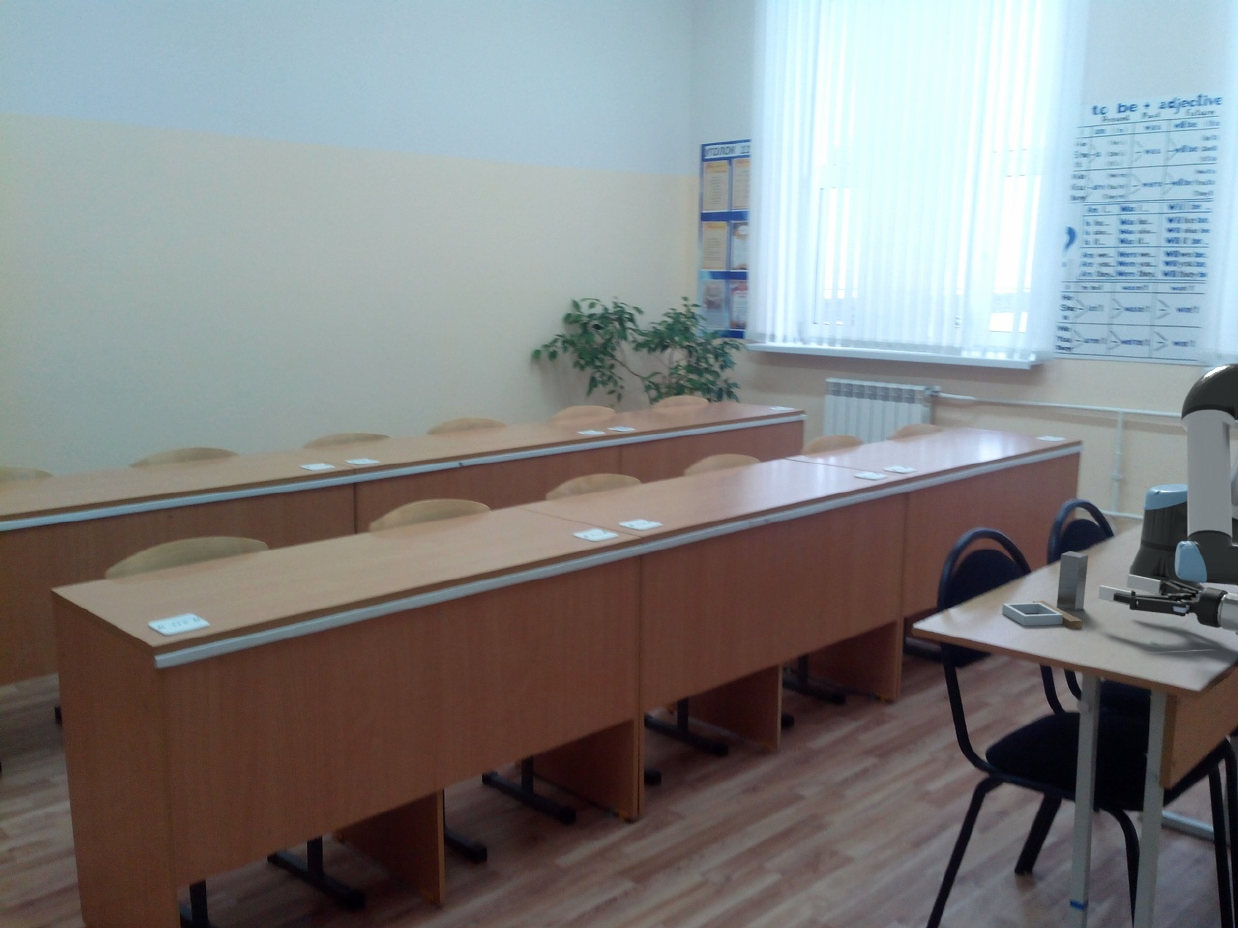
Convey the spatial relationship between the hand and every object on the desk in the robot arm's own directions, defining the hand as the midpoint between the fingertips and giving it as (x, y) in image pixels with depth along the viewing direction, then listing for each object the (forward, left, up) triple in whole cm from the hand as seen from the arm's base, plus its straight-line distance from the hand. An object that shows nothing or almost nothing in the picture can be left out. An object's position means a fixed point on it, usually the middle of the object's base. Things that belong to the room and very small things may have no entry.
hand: (1114, 586), depth 220 cm
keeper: (+17, -2, -7) cm, 19 cm away
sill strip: (+12, -2, -7) cm, 14 cm away
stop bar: (+5, -8, -7) cm, 11 cm away
